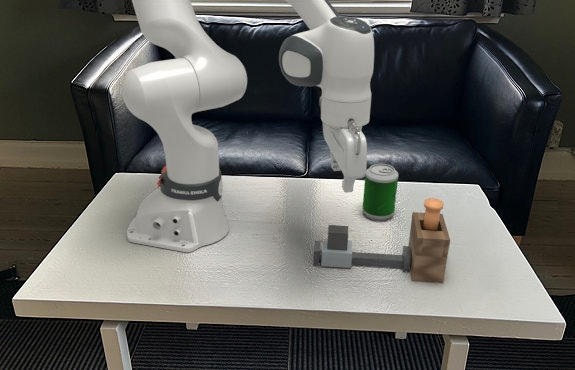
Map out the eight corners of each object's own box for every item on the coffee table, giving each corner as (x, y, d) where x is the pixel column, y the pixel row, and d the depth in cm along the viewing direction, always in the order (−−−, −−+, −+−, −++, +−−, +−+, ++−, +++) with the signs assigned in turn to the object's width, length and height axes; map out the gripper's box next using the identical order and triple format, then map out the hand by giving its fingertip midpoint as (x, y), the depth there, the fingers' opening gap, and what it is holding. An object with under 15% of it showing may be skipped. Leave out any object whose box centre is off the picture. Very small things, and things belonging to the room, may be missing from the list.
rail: (313, 265, 115) (313, 250, 114) (314, 254, 119) (314, 240, 117) (409, 272, 114) (411, 257, 112) (407, 260, 117) (409, 246, 116)
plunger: (421, 234, 110) (425, 206, 107) (419, 225, 113) (423, 197, 110) (440, 236, 109) (444, 207, 107) (437, 226, 113) (442, 198, 110)
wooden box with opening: (412, 281, 111) (417, 237, 106) (407, 253, 120) (412, 212, 115) (443, 283, 110) (450, 239, 106) (436, 254, 119) (442, 213, 115)
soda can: (393, 224, 131) (398, 177, 125) (360, 220, 132) (364, 174, 126) (394, 208, 137) (399, 163, 132) (363, 205, 138) (367, 160, 133)
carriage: (321, 266, 114) (322, 234, 111) (322, 252, 119) (323, 222, 116) (350, 268, 114) (353, 236, 111) (350, 254, 118) (353, 223, 115)
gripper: (378, 130, 93) (372, 204, 99) (349, 93, 111) (345, 158, 117) (341, 132, 92) (337, 206, 98) (318, 94, 110) (315, 159, 117)
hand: (341, 179), depth 108 cm, fingers open, 8 cm apart
